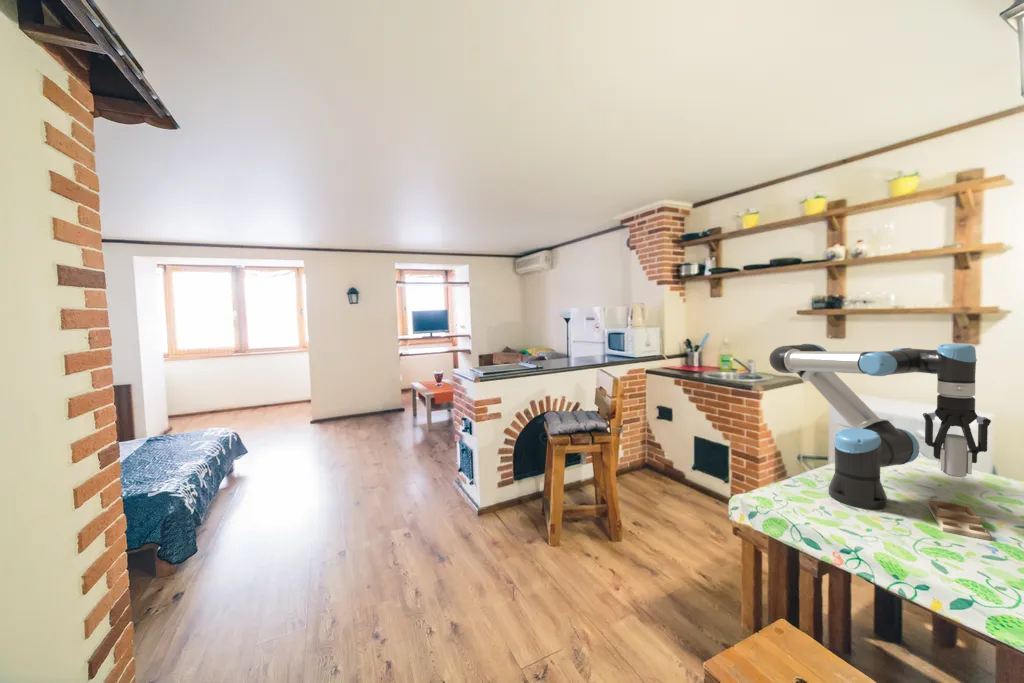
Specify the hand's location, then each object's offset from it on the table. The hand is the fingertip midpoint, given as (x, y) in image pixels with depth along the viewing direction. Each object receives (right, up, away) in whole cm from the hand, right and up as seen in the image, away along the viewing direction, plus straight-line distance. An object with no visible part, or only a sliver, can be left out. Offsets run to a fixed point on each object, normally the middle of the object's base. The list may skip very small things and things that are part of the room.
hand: (954, 470), depth 117 cm
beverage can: (0, -1, 0) cm, 1 cm away
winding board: (-1, -15, -1) cm, 15 cm away
